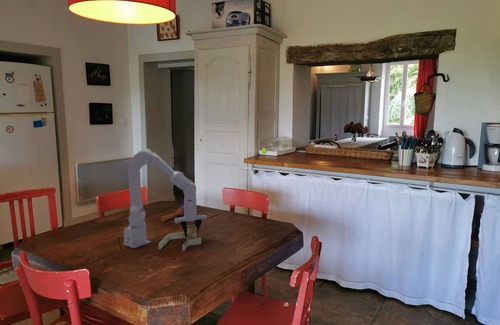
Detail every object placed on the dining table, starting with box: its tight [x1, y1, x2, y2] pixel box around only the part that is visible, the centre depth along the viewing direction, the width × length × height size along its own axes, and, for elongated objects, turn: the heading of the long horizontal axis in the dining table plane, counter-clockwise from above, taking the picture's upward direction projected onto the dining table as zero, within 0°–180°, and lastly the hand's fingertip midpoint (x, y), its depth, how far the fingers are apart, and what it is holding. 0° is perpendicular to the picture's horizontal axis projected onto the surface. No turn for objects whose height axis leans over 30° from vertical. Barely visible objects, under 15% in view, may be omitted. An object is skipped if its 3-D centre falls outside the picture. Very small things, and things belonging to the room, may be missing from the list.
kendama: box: [159, 204, 184, 223], centre depth 208 cm, size 6×6×20 cm
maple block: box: [184, 224, 198, 240], centre depth 171 cm, size 4×4×6 cm
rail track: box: [158, 231, 202, 252], centre depth 168 cm, size 22×17×3 cm
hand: (190, 235), depth 171 cm, fingers closed on maple block, 4 cm apart
